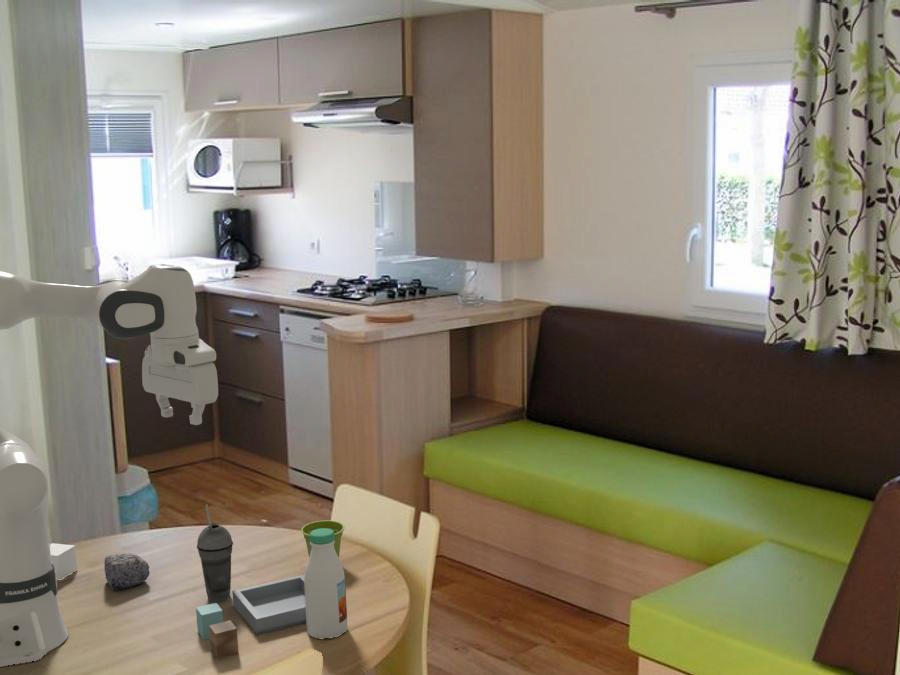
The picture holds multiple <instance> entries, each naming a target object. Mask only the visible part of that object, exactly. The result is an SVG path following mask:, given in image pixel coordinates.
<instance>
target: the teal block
mask: <svg viewBox="0 0 900 675" xmlns="http://www.w3.org/2000/svg"><path fill="white" fill-rule="evenodd" d="M195 613H196V614H195V615H196V624H197V633H198V634H199V636H200V637H201V638H202V640H204V641H205V640H210V630H209V625H213V624H217V623H221V622H224V614H223V609H222V608H221V607H220V605H219V604H218V602H212V603H209V604H206V605H201V606H196V607H195Z"/></svg>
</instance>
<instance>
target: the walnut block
mask: <svg viewBox="0 0 900 675" xmlns="http://www.w3.org/2000/svg"><path fill="white" fill-rule="evenodd" d="M209 630H210V638H209V640H210V641H209V643H210V651H211V652H212V654H213V655H214V657H215V659H217V660H221V659H224V658H228V657H232V656H235V655H239V642H238V640H239V639H238V629H237V626H235V624H234V623H233V621H232V620H227V621H223V622H221V623H217V624H213V625H209Z"/></svg>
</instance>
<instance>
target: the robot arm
mask: <svg viewBox="0 0 900 675" xmlns="http://www.w3.org/2000/svg"><path fill="white" fill-rule="evenodd" d="M193 280H194V279H193V277H192V275H191V273H190V272H189V271H188V270H187V269H185V268H184V267H182V266H179V265H178V266H177V265H173V264H164V263H160V264H159V263H157V264H155V263H154V264H151V265H150V266H148V268H147V269H146V270H144V271H143V272H141V273H140V274H139V275H137V276H135V277H133V278H132V279H130V280H127V279H124V278H110V279H106V280H103V281H101V282H98V283H94V284H89V285H80V284H69V283H68V284H66V283H55V282H54V283H53V282H43V281H42V282H41V281H37V280H33V279H29V278H26V277H23V276H20V275H16V274H13V273H9V272H6V271H2V270H0V331H1V330H9V329H12V328H14V327H16V326H18V325H19V324H20V323H22V322H24V321H26V320H30V319H34V318H39V317H47V318H48V317H49V318H50V317H52V318H64V319H65V318H66V319H79V320H80V319H83V320H88V321H91V322H94V323H95V324H97V325H99V326H101V328H102V329H103V330H104V331H105V332H106V333H107V334H109V335H110V336H112V337H114V338H116V339H122V340H128V339H129V340H130V339H135V338H136V337H140V336H144V335H147V334H149V336H150V344H149V345H147V347H146V348H145V350H144V356H143V358H142V363H141V364H142V366H141V378H142V380H141V381H142V387H143V390H144V391H145V392H146V393H150V394H154V395H155V400H156V402H157V403H158V407H159V409H160V416H161V417H163V418H171V417H173V416H174V407H172V406H171V404H170V401H169V398H172V399H176V400H179V401H184V402H188V403H190V407H191V409H192V412H191V414H190V415H188V417H189V423H190V425H194V426H198V425H201V424H202V423H203V417H202V415H203V413H204V410H205V407H206V405H208V404H212V403H215V402H216V401H217V399H218V397H219V382H218V380H219V379H218V371H217V367H216V364H214V362H215V361H216V360H217V351H216V350H215V349H214V348H213V347H211V346H209V344H207V343H206V342H205V341H204V340H203V339H201V338H200V336H199V335H200V334H199V329H198V328H199V327H198V326H197V322H196V321H197V320H196V316H197V310H198V309H197V298H196V291H195V285H194V284H195V283H194V281H193ZM47 473H48V472H47V469H46V468H45V466H44V464H43V462H42V461H41V460H40V458H39V457H38V456H37V455H36V453H35V452H34V450H33V449H32V448H31V447H30V445H29V444H28V443H27V442H26V441H24V440H22V439H21V438H19V437H17V436H16V435H14V434H12V433H11V432H9V431H8V430H6V429H4V428H3V427H1V426H0V668H1V667H8V665H9V666H14V665H13V664H15V665H21V664H27V663H32V661H34V662H37V660H38V661H39V659H40V660H42V659H43V658H44V657H45V656H46V654H47V653H49V652H51V651H52V650H54V649H57V648H58V647H59V646H61V645H62V644H63V643H64V642H65V641H66V640H67V638H68V636H69V631H68V629H67V626H66V625H65V621H64V619H63V617H62V616H63V615H62V613H61V610H60V605H59V602H58V598H57V595H58V581H57V579H56V571H55V568H54V566H53V564H52V562H51V553H50V544H51V543H50V536H49V535H50V534H49V524H48V522H49V521H48V520H49V488H48V486H49V485H48V474H47ZM44 655H45V656H44ZM43 656H44V657H43ZM42 657H43V658H42ZM26 662H27V663H26ZM20 663H21V664H20Z"/></svg>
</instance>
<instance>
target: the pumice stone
mask: <svg viewBox="0 0 900 675" xmlns="http://www.w3.org/2000/svg"><path fill="white" fill-rule="evenodd" d="M104 574H105V579H106V582H107V583H108V585H109V587H110V588H111V589H113V590H112V591H117V590H116V589H118V590H122V588H123V589H128V588H131V587H134V586H139V585H140V584H142V583H144V582H146V580H147V579H148V577H149V576H150V565H149V563H148V562H146V560H145V559H143V558H142V557H140V556H139V555H137V554H132V553H115V554H110V555H107V556H105V557H104Z"/></svg>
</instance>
